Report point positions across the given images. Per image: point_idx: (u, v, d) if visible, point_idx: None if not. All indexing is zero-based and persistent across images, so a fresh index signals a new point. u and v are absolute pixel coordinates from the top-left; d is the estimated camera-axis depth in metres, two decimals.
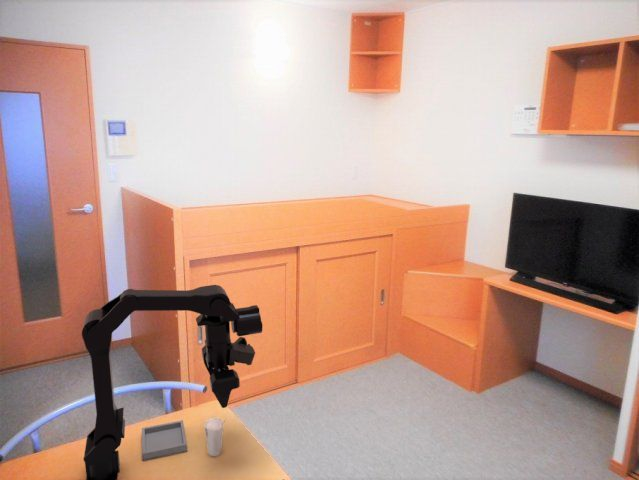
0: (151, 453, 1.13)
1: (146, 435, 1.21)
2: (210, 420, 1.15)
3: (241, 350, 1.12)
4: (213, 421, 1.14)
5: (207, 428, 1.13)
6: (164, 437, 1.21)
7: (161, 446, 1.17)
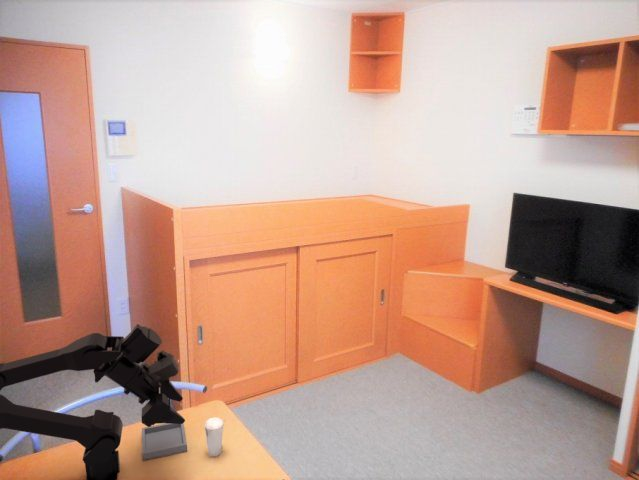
0: (151, 453, 1.13)
1: (146, 435, 1.21)
2: (210, 420, 1.15)
3: (157, 369, 1.05)
4: (213, 421, 1.14)
5: (207, 428, 1.13)
6: (164, 437, 1.21)
7: (161, 446, 1.17)
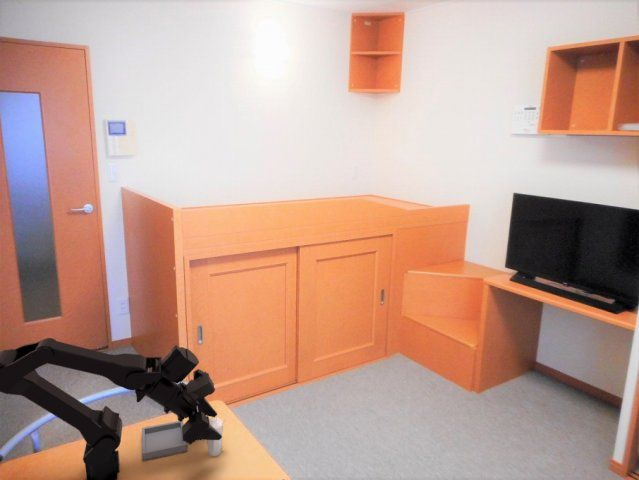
0: (151, 453, 1.13)
1: (146, 435, 1.21)
2: (210, 420, 1.15)
3: (195, 388, 1.09)
4: (213, 421, 1.14)
5: None
6: (164, 437, 1.21)
7: (161, 446, 1.17)
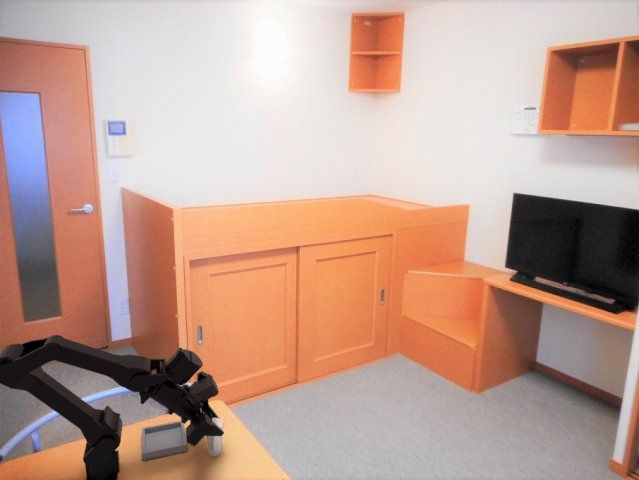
0: (151, 453, 1.13)
1: (146, 435, 1.21)
2: None
3: (198, 390, 1.09)
4: (213, 421, 1.14)
5: None
6: (164, 437, 1.21)
7: (161, 446, 1.17)
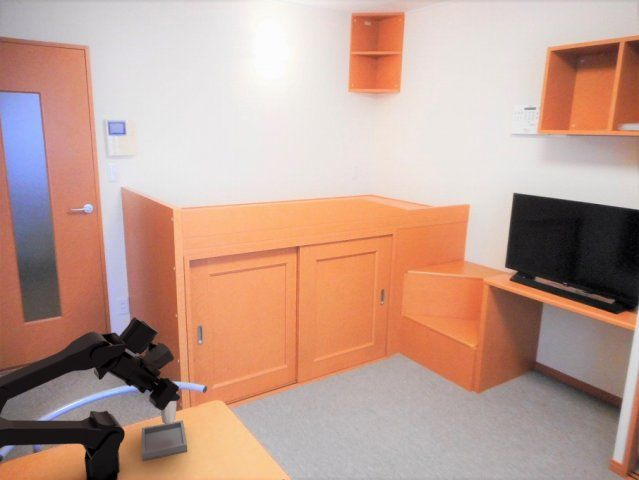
0: (151, 453, 1.13)
1: (146, 435, 1.21)
2: None
3: (155, 357, 1.10)
4: None
5: None
6: (164, 437, 1.21)
7: (161, 446, 1.17)
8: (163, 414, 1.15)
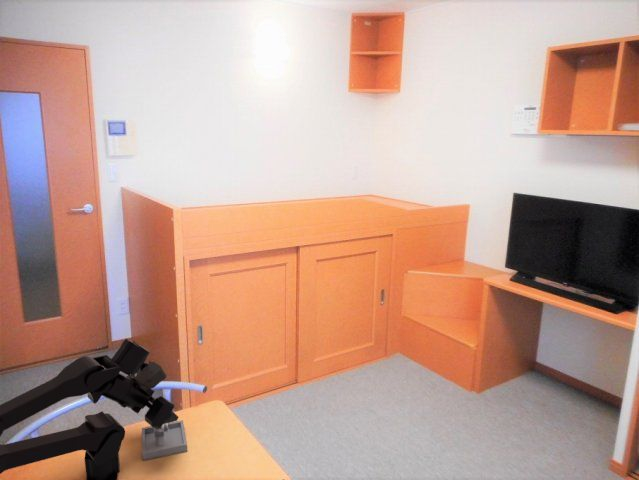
0: (151, 453, 1.13)
1: (146, 435, 1.21)
2: None
3: (148, 377, 1.11)
4: None
5: None
6: None
7: (161, 446, 1.17)
8: (157, 436, 1.17)
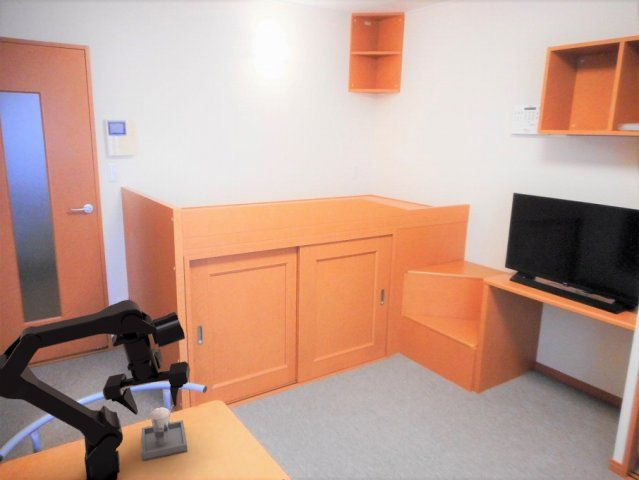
0: (151, 453, 1.13)
1: (146, 435, 1.21)
2: (156, 411, 1.17)
3: (154, 352, 1.12)
4: (160, 411, 1.17)
5: (156, 418, 1.15)
6: None
7: (161, 446, 1.17)
8: (157, 436, 1.17)
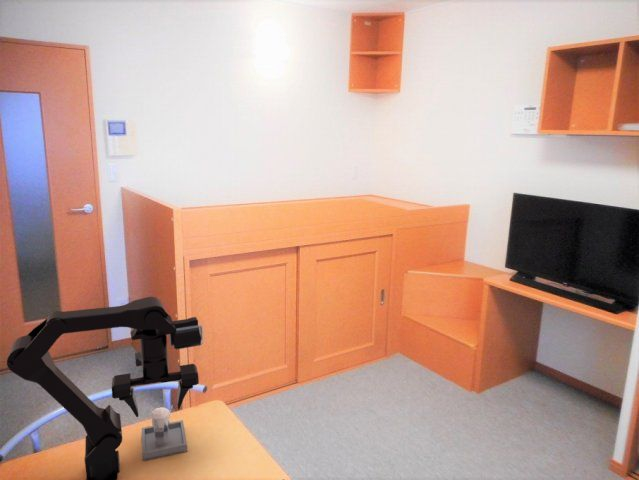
0: (151, 453, 1.13)
1: (146, 435, 1.21)
2: (156, 411, 1.17)
3: None
4: (160, 411, 1.17)
5: (156, 418, 1.15)
6: None
7: (161, 446, 1.17)
8: (157, 436, 1.17)
